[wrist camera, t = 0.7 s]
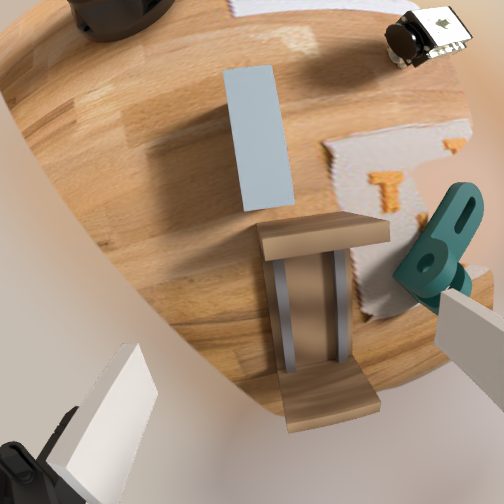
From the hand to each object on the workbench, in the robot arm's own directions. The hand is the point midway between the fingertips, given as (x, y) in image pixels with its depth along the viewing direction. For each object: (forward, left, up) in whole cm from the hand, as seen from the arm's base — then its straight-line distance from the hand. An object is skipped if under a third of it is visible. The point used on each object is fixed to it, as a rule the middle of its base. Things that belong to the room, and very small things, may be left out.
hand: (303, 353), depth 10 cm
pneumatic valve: (-23, +22, -22) cm, 39 cm away
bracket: (+2, +24, -22) cm, 33 cm away
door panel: (-11, 0, -22) cm, 24 cm away
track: (+7, +4, -21) cm, 23 cm away
